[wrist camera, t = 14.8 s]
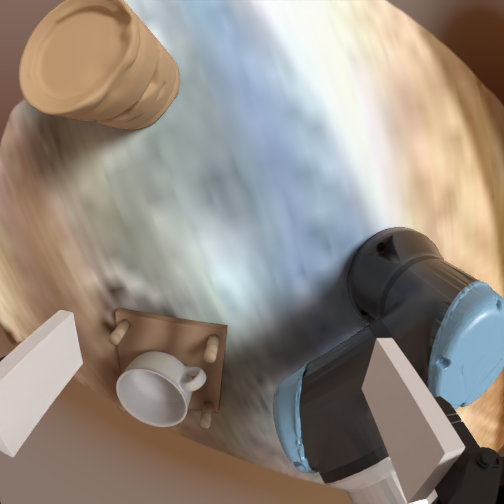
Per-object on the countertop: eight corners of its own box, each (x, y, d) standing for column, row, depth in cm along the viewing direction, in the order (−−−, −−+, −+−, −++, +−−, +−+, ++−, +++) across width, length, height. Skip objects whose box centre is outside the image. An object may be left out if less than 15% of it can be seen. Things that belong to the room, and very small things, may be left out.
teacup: (148, 397, 48) (135, 429, 41) (121, 346, 45) (101, 375, 38) (224, 387, 47) (220, 421, 39) (201, 331, 44) (192, 362, 37)
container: (196, 59, 36) (159, -2, 18) (157, 142, 39) (92, 130, 22) (120, 39, 35) (56, -12, 17) (84, 116, 38) (2, 100, 20)
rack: (227, 325, 46) (223, 349, 39) (218, 407, 50) (214, 433, 44) (119, 307, 45) (101, 327, 39) (125, 390, 50) (114, 413, 44)
